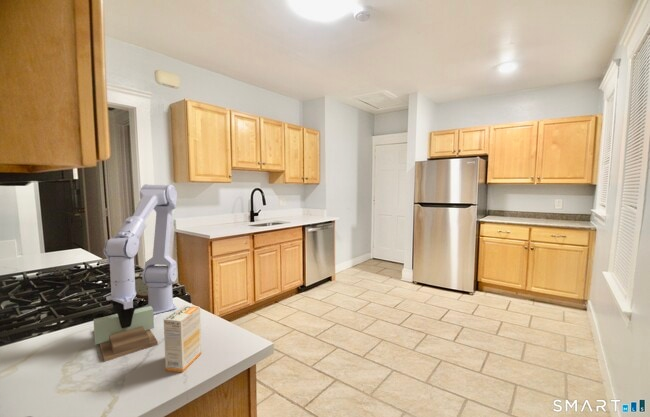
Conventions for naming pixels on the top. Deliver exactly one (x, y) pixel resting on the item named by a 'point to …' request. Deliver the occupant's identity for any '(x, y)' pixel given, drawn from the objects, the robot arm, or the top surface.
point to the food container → (141, 287)
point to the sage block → (112, 325)
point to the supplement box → (182, 338)
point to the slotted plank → (109, 352)
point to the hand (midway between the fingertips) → (125, 324)
